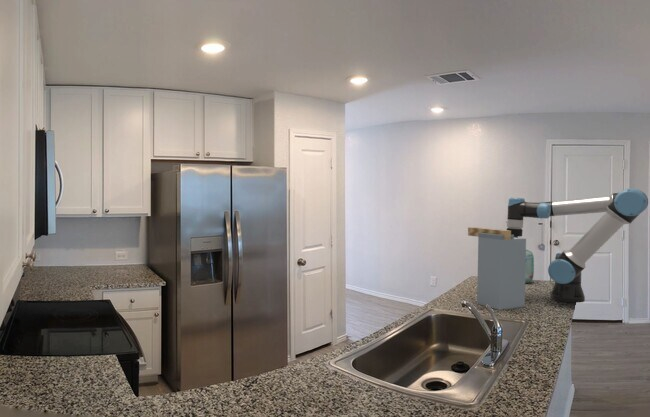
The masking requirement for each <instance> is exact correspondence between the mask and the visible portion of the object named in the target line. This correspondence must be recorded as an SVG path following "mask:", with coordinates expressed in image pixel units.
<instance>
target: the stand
mask: <svg viewBox="0 0 650 417" xmlns="http://www.w3.org/2000/svg"><path fill="white" fill-rule="evenodd" d="M477 238H478V240H477V242H478V244H477V292H476V295H477V296H476V304H478V305H481V306H484V307H487V306H486V305H487V304H488V305H490V306H491V307H492V308H491V307H490V308H491V309H494V310H498V311H503V309H504V310H511V309H517V308H523V307H526V306H525V303H526V300H525V299H526V283H525V267H526V249H527V238H524V237H518V238H516V237H514V235H511V239H509V240H504V235H495V234H486V233H478V237H477Z"/></svg>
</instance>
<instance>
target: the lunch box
mask: <svg viewBox="0 0 650 417" xmlns="http://www.w3.org/2000/svg"><path fill="white" fill-rule="evenodd" d="M534 256H535V255H534V254H533V252H532V251H531V250H530V249H527V248H526V267H525V284H526V283H527V284H528V283H531V282H532V281H533V279H534V274H535V260H534V259H535V257H534Z"/></svg>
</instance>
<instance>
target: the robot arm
mask: <svg viewBox="0 0 650 417" xmlns="http://www.w3.org/2000/svg"><path fill="white" fill-rule="evenodd" d="M507 203H508V205H507V217H506V221H505V222H506V227H507V228H506V230H509V231H511V235H514V237H516V238H521V237H523V228H524V218H534V219H549V218H550V217H559V216H570V215H585V214H586V215H587V214H597V213H604V214H603V215H602V216H601V217H600V218H599V219H598V220H597V221H596V223H594V225H593V226H592V227H590V228H589V229H588V230H587V232H586V233H584V235H583V236H581V238H579V240H578V241H577V242H576V243H575V244H573V246H572V247H571V248H569V249H567V250H562V252H561V253H560V252H559V253H556V254H555V257H554V260H552V261H550V263H549V265H548V268H547V273H548V276H549V277H550V278H551V280H552V281H553V282H554V285H553V287H552V290H551V293H550V299H551V300H554V301H558V302H564V303H575V302H576V304H577V303H584V302H585V301H586V297H585V294H584V290H583V287H582V271H584V270H585V269H586V263H587V261H588V260H589V259H591V258H592V257H593V255H594V254H596V253H597V252H598V251H599V250H600V249H601V247H603V245H605V244H606V243H608V241H609V240H610V238H612V237H613V236H614V235H615V234H616V233H617V232H618V231H619V230H620V229H621V228H622V227H623V226H624V225H630V224H632V222H633V221H634V220H636V219H637V218H638V216H640V215H641V213H642V214H643V212H644V211H645V210H647V207H648V205H649V198H648V196H647V194H646V193H645V192H643V191H642V190H640V189H636V188H626V189H623V190H621V191H619V192H616V193H614V192H612V193H611V194H610V195H606V196H605V195H604V196H596V197H595V196H594V197H586V198H575V199H564V200H554V201H542V202H531V201H530V202H529V201H528V202H527V201H525V197H524V198H523V197H510V198H509V199H508V202H507Z"/></svg>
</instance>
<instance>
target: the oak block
mask: <svg viewBox="0 0 650 417" xmlns="http://www.w3.org/2000/svg"><path fill="white" fill-rule="evenodd" d="M478 233H486V234H495V235H504V240H509V239H511V231H509V230H507V229H497V228H495V229H494V228H487V227H477V226H473V227H472V226H471V227H467V236H470V237H477V238H478Z"/></svg>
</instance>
